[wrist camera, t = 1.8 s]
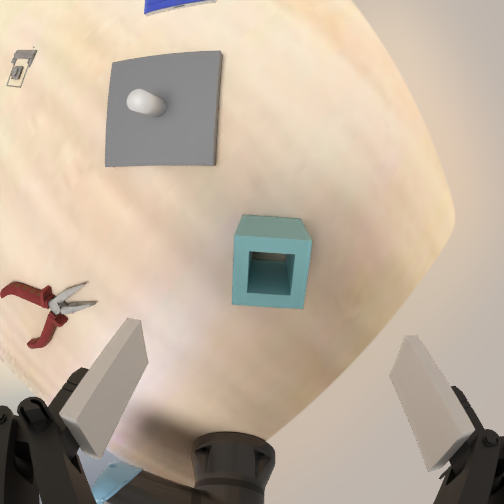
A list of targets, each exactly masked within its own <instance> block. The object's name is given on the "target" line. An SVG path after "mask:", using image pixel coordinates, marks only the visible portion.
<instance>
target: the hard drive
mask: <svg viewBox="0 0 504 504" xmlns="http://www.w3.org/2000/svg"><path fill="white" fill-rule="evenodd" d="M215 2H216V0H145V9H144V14H145V15H146V16H149V15H153V14H157V13H161V12H165V11H170V10H174V9H179V8H184V7H189V6H195V5H201V4H208V3H215Z"/></svg>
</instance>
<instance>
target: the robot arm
mask: <svg viewBox="0 0 504 504" xmlns="http://www.w3.org/2000/svg"><path fill="white" fill-rule="evenodd" d="M147 364H148V358H147V353H146V348H145V342H144V336H143V330H142V324H141V320H135V319H129V318H127V319H126V320H125V322H124V323H123V324H122V326H121V327H120V328H119V330H118V331H117V332H116V334H115V335H114V336H113V338H112V339H111V340H110V342H109V343H108V344H107V346H106V347H105V348H104V350H103V351H102V352H101V354H100V355H99V357H98V358H97V359H96V361H95V362H94V363H93V365H92V366H91V368H90V369H86V368H82V367H81V368H80V369H78V370H77V371H75V372H74V373H72V375H71V376H70V377H69V379H68V380H67V383H65V384H64V386H63V387H62V389H61V390H60V391H59V392H58V394H57V395H56V397H55V398H54V399H53V401H52V402H51V404H50V405H49V406H48V407H47V405H46V404H45V402H44V401H43V400H42V399H41V398H38V397H29V398H26V399H24V400H23V401H22V402H20V404H19V406H18V409H17V413H18V414H19V416H16V415H14V414H13V413H12V411H11V410H10V409H9V408H8V407H7V406H0V504H39V494H40V497H41V501H42V504H264V490H265V486H266V484H267V482H268V480H269V478H270V475H271V473H272V471H273V468H274V466H275V451H274V449H273V447H272V446H270V445H269V444H268V443H267V442H265V441H263V440H261V439H259V438H257V437H254V436H250V435H246V434H241V433H232V432H220V433H212V434H207V435H204V436H202V437H200V438H198V439H197V440H196V441H195V442H194V445H193V449H192V453H191V458H192V463H193V469H194V475H195V480H196V482H195V487H194V488H192V487H189V486H186V485H182V484H179V483H176V482H173V481H171V480H168V479H165V478H162V477H160V476H157V475H154V474H152V473H149V472H147V471H144V470H143V468H138V467H135V466H133V465H130V464H128V463H125V462H123V461H119V460H116V461H112V462H110V463H109V464H108V465H107V466H106V467H105V469H104V470H103V471H102V473H101V474H100V476H99V477H98V479H97V480H96V482H95V483H94V485H93V486H92V488H91V489H90V486H89V484H88V481H87V479H86V476H85V473H84V470H83V468H82V465H81V462H80V459H79V456H78V455H77V451H78V449H79V447H80V448H81V450H82V451H83V453H84V454H85V455H88V456H91V457H93V458H96V459H99V460H101V458H102V456H103V453H104V451H105V449H106V447H107V445H108V443H109V441H110V439H111V436H112V434H113V432H114V430H115V428H116V426H117V424H118V422H119V420H120V418H121V416H122V414H123V412H124V410H125V408H126V406H127V404H128V402H129V400H130V398H131V396H132V394H133V392H134V390H135V388H136V386H137V384H138V382H139V380H140V378H141V376H142V374H143V372H144V370H145V368H146V366H147ZM390 378H391V381H392V383H393V385H394V387H395V390H396V392H397V394H398V397H399V399H400V401H401V404H402V406H403V408H404V411H405V413H406V416H407V418H408V421H409V423H410V425H411V428H412V430H413V433H414V435H415V437H416V441H417V443H418V446H419V448H420V451H421V454H422V456H423V459H424V462H425V465H426V467H427V470H428V472H430V471H433V470H436V469H440V468H442V467H443V466H444V465H445V464H446V463H447V462H448V461H450V464H451V466H450V467H449V468H448V469H447V470H446V471H445V472H444V473H443V474H442V475H441V476H440V478H439V479H441V478H443V477H444V476H445V478H444V480H443V483H442V485H441V487H440V490H439V492H438V495H437V497H436V499H435V501H434V503H433V504H504V436H502V437H501V436H500V437H499V436H498V434H497V433H496V432H494V431H493V430H489V429H486V430H485V429H484V428H483V426H482V424H481V422H480V421H479V419H478V417H477V416H476V414H475V412H474V410H473V409H472V408H471V405H470V404H469V402H468V401H467V399H466V397H465V395H464V394H463V392H462V391H460V390H459V389H458V388H457V387H456V386H450V385H449V383H448V382H447V381H446V379H445V377H444V375H443V374H442V372H441V370H440V369H439V367H438V366H437V364H436V363H435V361H434V360H433V358H432V357H431V355H430V354H429V352H428V351H427V349H426V348H425V346H424V345H423V343H422V342H421V340H420V339H419V337H418V336H405V338H404V341H403V343H402V346H401V349H400V351H399V354H398V356H397V359H396V361H395V364H394V366H393V369H392V371H391V373H390Z"/></svg>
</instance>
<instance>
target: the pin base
mask: <svg viewBox="0 0 504 504" xmlns="http://www.w3.org/2000/svg"><path fill="white" fill-rule="evenodd" d="M221 67H222V53H221V51H199V52H184V53H173V54H164V55H156V56H148V57H141V58H135V59H129V60H124V61H118V62H113V63H112V70H111V77H110V86H109V96H108V108H107V122H106V145H105V167H118V166H146V165H207V166H214V165H216V144H217V125H218V109H219V94H220V80H221Z"/></svg>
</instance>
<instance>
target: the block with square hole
mask: <svg viewBox="0 0 504 504" xmlns="http://www.w3.org/2000/svg"><path fill="white" fill-rule="evenodd" d="M311 247H312V239H311V237H310V236H309V234H308V232H307V230H306V228H305V226H304V224H303V222H302V220H301V219H297V218H283V217H269V216H254V215H242V218H241V220H240V223H239V225H238V228H237V230H236V232H235V235H234V258H233V288H232V304H233V305H246V306H261V307H276V308H294V309H303V305H304V299H305V292H306V285H307V278H308V270H309V263H310V255H311ZM252 252H267V253H282V254H286V259H285V262H282V261H268V260H253V259H252Z"/></svg>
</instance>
